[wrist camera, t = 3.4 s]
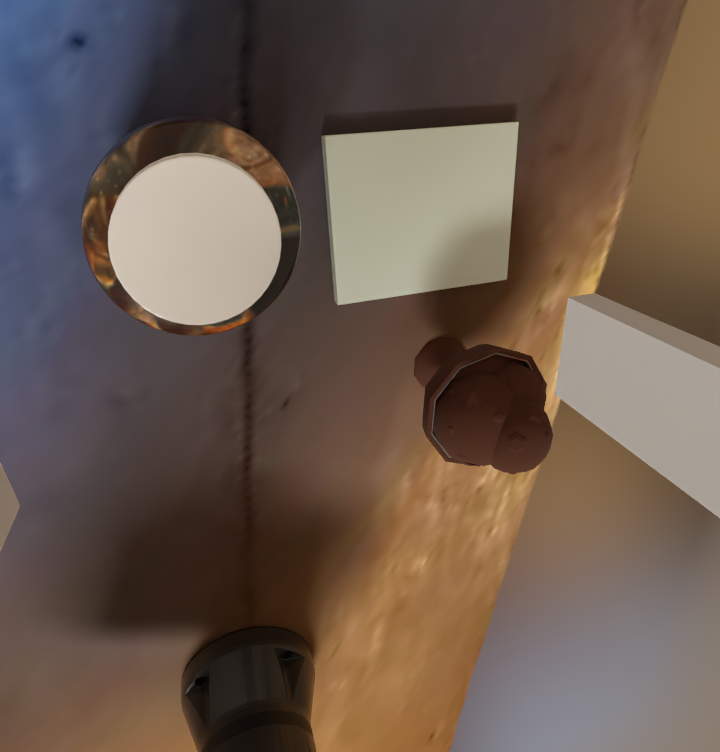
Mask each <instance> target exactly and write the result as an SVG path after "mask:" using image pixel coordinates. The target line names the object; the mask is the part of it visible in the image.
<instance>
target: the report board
mask: <svg viewBox="0 0 720 752" xmlns="http://www.w3.org/2000/svg"><path fill="white" fill-rule="evenodd" d="M518 125H519V122H504V123H490V124H476V125H462V126H448V127H434V128H421V129H407V130H393V131H379V132H365V133H351V134H338V135H324V136H321V140H322V152H323V164H324V177H325V189H326V202H327V214H328V226H329V239H330V251H331V264H332V276H333V288H334V301H335V302H336V303H337V305H342V304H349V303H356V302H362V301H369V300H375V299H382V298H389V297H395V296H402V295H409V294H415V293H422V292H429V291H435V290H442V289H448V288H455V287H462V286H468V285H475V284H482V283H488V282H495V281H501V280H507V271H508V258H509V245H510V231H511V218H512V205H513V191H514V178H515V165H516V151H517V138H518Z"/></svg>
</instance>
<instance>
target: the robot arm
mask: <svg viewBox="0 0 720 752" xmlns="http://www.w3.org/2000/svg"><path fill="white" fill-rule="evenodd" d="M555 395H556V396H557V397H559V398H560V399H561V400H563V401H564V402H566V403H567V404H568V405H570V406H571V407H572V408H573V409H575V410H576V411H578V412H579V413H580V414H581V415H583V416H584V417H585V418H587V419H588V420H590V421H591V422H592V423H594V424H595V425H596V426H598V427H599V428H600V429H602V430H603V431H604V432H606V433H607V434H608V435H610V436H611V437H612V438H614V439H615V440H616V441H618V442H619V443H621V444H622V445H623V446H624V447H626V448H627V449H628V450H630V451H631V452H632V453H634V454H635V455H636V456H638V457H639V458H640V459H642V460H643V461H644V462H646V463H647V464H648V465H650V466H651V467H652V468H654V469H655V470H656V471H658V472H659V473H660V474H662V475H663V476H664V477H666V478H667V479H668V480H670V481H671V482H672V483H674V484H675V485H676V486H678V487H679V488H680V489H682V490H683V491H684V492H686V493H687V494H688V495H690V496H691V497H692V498H694V499H695V500H696V501H698V502H699V503H700V504H702V505H703V506H704V507H706V508H707V509H708V510H710V511H711V512H713V513H714V514H715V515H717V516H718V517H719V518H720V347H719V346H716V345H714V344H712V343H709V342H707V341H705V340H702V339H700V338H698V337H695V336H693V335H691V334H688V333H686V332H684V331H681V330H679V329H676V328H674V327H672V326H670V325H667V324H665V323H662V322H660V321H658V320H656V319H653V318H651V317H649V316H646V315H644V314H642V313H639V312H637V311H635V310H632V309H630V308H627V307H625V306H623V305H621V304H618V303H616V302H614V301H611V300H609V299H607V298H604V297H602V296H600V295H597V294H595V293H593V294H587V295H581V296H575V297H568V303H567V310H566V317H565V324H564V332H563V339H562V346H561V354H560V361H559V368H558V375H557V383H556V390H555ZM19 507H20V505H19V503H18V500H17V498H16V496H15V494H14V491H13V489H12V487H11V485H10V482H9V480H8V478H7V476H6V474H5V471H4V469H3V467H2V465H1V462H0V551H1V549H2V547H3V544H4V542H5V540H6V537H7V535H8V533H9V530H10V528H11V526H12V523H13V521H14V519H15V516H16V514H17V512H18V509H19ZM314 681H315V668H314V663H313V659H312V655H311V651H310V648H309V646H308V644H307V643H306V642H305V640H304V639H303V638H301V637H300V636H299V635H297V634H295V633H293V632H291V631H288V630H285V629H281V628H274V627H258V628H250V629H245V630H241V631H238V632H234V633H232V634H229V635H226V636H224V637H222V638H220V639H218V640H216V641H214V642H213V643H211V644H210V645H208V646H207V647H205V648H204V649H203V650H201V651H200V652H199V653H198V654H197V655H196V656H195V657H194V658H193V659H192V661H191V662H190V663H189V665H188V666H187V668H186V670H185V672H184V675H183V678H182V684H181V703H182V709H183V713H184V716H185V718H186V721H187V724H188V726H189V729H190V732H191V735H192V737H193V740H194V743H195V745H196V748H197V751H198V752H316V748H315V743H314V739H313V734H312V729H311V722H310V721H311V711H312V701H313V691H314Z"/></svg>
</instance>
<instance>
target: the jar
mask: <svg viewBox="0 0 720 752" xmlns="http://www.w3.org/2000/svg"><path fill="white" fill-rule="evenodd" d="M81 231H82V240H83V246H84V250H85V254H86V257H87V260H88V263H89V266H90V268H91V270H92V272H93V274H94V276H95V278H96V280H97V281H98V283H99V284H100V286H101V287H102V289H103V290H104V291H105V293H106V294H107V295H108V296H109V297H110V298H111V300H112V301H113V302H114V303H115V304H116V305H118V306H119V307H120V308H121V309H122V310H123V311H125V312H126V313H127V314H129V315H130V316H132V317H133V318H135V319H136V320H138V321H140V322H142V323H144V324H146V325H148V326H150V327H153V328H155V329H158V330H161V331H165V332H169V333H173V334H180V335H209V334H215V333H220V332H224V331H227V330H230V329H233V328H236V327H238V326H240V325H242V324H244V323H246V322H248V321H250V320H251V319H253V318H255V317H256V316H257V315H259V314H260V313H261V312H263V311H264V310H265V309H266V308H267V307H268V306H270V305H271V303H272V302H273V301H274V300H275V299H276V298H277V297H278V296H279V294H280V293H281V292H282V290H283V289H284V287H285V286H286V284H287V282H288V281H289V279H290V277H291V275H292V272H293V270H294V267H295V265H296V262H297V258H298V255H299V249H300V243H301V217H300V211H299V206H298V202H297V198H296V195H295V192H294V189H293V187H292V185H291V182H290V180H289V178H288V177H287V175H286V173H285V171H284V170H283V168H282V167H281V165H280V164H279V162H278V161H277V160H276V159H275V157H274V156H273V155H272V154H271V153H270V152H269V151H268V150H267V149H266V148H265V147H264V146H263V145H262V144H261V143H260V142H258V141H257V140H256V139H255V138H253V137H252V136H251V135H249V134H247V133H246V132H244V131H243V130H241V129H239V128H237V127H235V126H233V125H231V124H228V123H226V122H223V121H220V120H217V119H213V118H209V117H204V116H195V115H180V116H171V117H166V118H162V119H158V120H155V121H152V122H150V123H147V124H145V125H143V126H141V127H139V128H137V129H135V130H134V131H132V132H130V133H129V134H127V135H126V136H125V137H123V138H122V139H121V140H119V141H118V142H117V143H116V144H115V145H114V146H113V147H112V148H111V149H110V150H109V152H108V153H107V154H106V155H105V156H104V157H103V159H102V160H101V162H100V163H99V164H98V166H97V168H96V169H95V171H94V173H93V175H92V177H91V179H90V181H89V184H88V187H87V190H86V193H85V196H84V201H83V207H82V215H81Z"/></svg>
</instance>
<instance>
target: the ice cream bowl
mask: <svg viewBox="0 0 720 752" xmlns="http://www.w3.org/2000/svg"><path fill="white" fill-rule="evenodd" d="M414 376H415V377H416V378H417V380H418V381H419V383H420V384H421V385H422V387H425V398H424V409H423V429H424V432H425V434H426V437H427V438H428V439H429V441H430V442H431V443H432V444H433V446H434V447H435V448H436V450H437V451H438V452H439V453H440V455H441V456H442V457H443V459H444V460H445V461H446V462H453V463H460V464H465V465H468V466H473V465H474V466H481V465H482V466H485V465H490V464H491V465H492V466H493V467H494V468H495V469H498V470H500V471H503V472H508V473H510V474H515V473H517V472H527V471H529V470H532V469H534V468H535V467H536V466H538V465H539V464H540V463H541V462H542V461H543V460H544V459H545V457H546V455H547V454H548V452H549V450H550V446H551V442H552V437H553V433H552V428H551V425H550V422H549V419H548V416H547V414H546V413H545V411H544V406H545V401H546V392H545V391H546V386H547V384H546V382H545V380H544V379H543V377H542V375H541V373H540V371H539V369H538V367H537V366H536V364H535V362H534V360H533V358H532V356H529V355H526V354H523V353H520V352H517V351H513V350H509V349H505V348H501V347H497V346H493V345H489V344H482V345H477V346H475V347H473V348H470V349H468V350H465V351H463V350H462V348H461V346H460V345H459V343H458V342H457V341H454V340H450V339H446V338H440V339H438V340H435V341H433V342H430V343H428V344H426V345H425V346H424V348H423V349H422V350H421V352H420V353H419V354H418V356H417V357H416V358H415V367H414Z"/></svg>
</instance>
